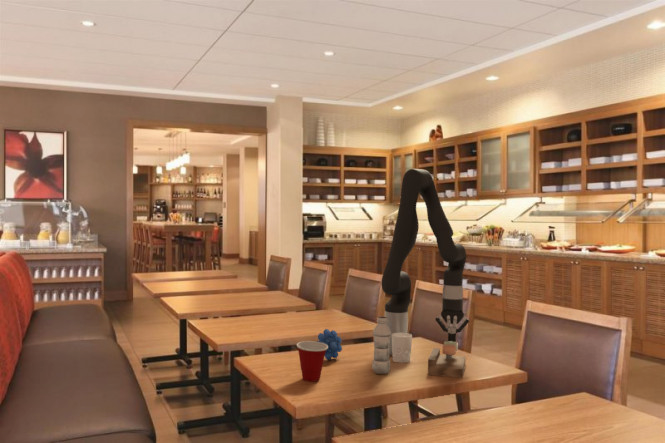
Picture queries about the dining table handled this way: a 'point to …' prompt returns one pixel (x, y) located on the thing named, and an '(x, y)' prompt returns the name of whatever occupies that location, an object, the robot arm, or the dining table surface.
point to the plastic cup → (311, 359)
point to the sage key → (451, 343)
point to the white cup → (401, 347)
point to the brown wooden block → (445, 365)
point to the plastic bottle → (381, 346)
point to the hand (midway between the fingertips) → (451, 342)
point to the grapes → (330, 343)
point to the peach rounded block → (449, 351)
